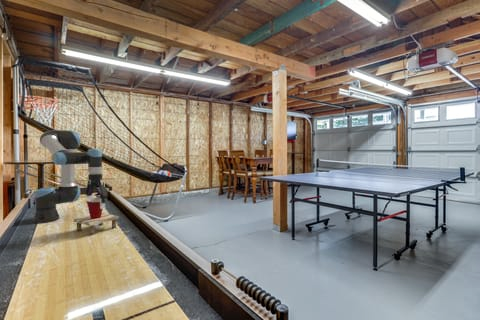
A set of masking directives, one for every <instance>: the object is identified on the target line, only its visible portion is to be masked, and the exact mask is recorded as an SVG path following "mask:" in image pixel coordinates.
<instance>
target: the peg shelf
mask: <svg viewBox="0 0 480 320" xmlns="http://www.w3.org/2000/svg"><path fill="white" fill-rule="evenodd" d="M117 220H119V215H114V214H110V213H105V212H102V215H101V218H97V219H91V218H90V215H86V216H81V217H78V218H74V219H73V222H74V223H76V232H81V231H83V230H82V225H85V226H88V227H89V236H94V235H95V226H96V225H99V226H104V223H107V222H111V229H113V230H114V228H115V229H116V228H117Z"/></svg>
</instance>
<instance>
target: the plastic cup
mask: <svg viewBox="0 0 480 320" xmlns="http://www.w3.org/2000/svg"><path fill="white" fill-rule="evenodd" d="M85 201H86V204H87V208H88V213H89V216H90V218H91V219H97V218H101V215H102V213H103V209H104V208H103V209H100V197H92V198H89V199H88V198H86V199H85Z"/></svg>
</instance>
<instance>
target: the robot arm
mask: <svg viewBox="0 0 480 320" xmlns="http://www.w3.org/2000/svg"><path fill="white" fill-rule="evenodd" d="M39 142H40V144H41V145H42V147H44V148H45V149H47V150H48V151H49V152H50V153H51V155H52V159H53V160H52V161H53V164H54V165H56V166H59V165H60V184H58V187H56V186H47V187H41V188H39V189H37V190H35V194H34V200H35V201H34V205H35V211H34V214H33V216H32V217H33V218H32V223H33V224H46V223H52V222H55V221H57V220H59V219H60V214H59V211H58V209H57V205H60V204H68V203H74V202H77V201H78V200H79V198H80V196H81V188H80V186H79V185H78V184H77V183H76V165H87V168H88V169H87V170H88V171H87V173H88V181H87V185H86V189H85V192H84V195H86V197H87V198H86V199H89V198H93V192H94V191H95V190H97V192H98V195H99V198H100V209H106V198H108V193H107V189H106V186H105V182H104V181H101V180H103V162H102V161H103V153H102V149H99V148H91V149H90V148H89V149H87V151H85V152H84V151H83V152H81V151H79V152H77V150H78V148H79V147H80V146H81V142H82V141H81V137H80V135H79V133H78V131H76V130H75V131H74V130H60V129H57V130H56V129H52V130H51V129H50V130H47V131H45V132H44V133H42V134H41V135H40V137H39Z"/></svg>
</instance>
